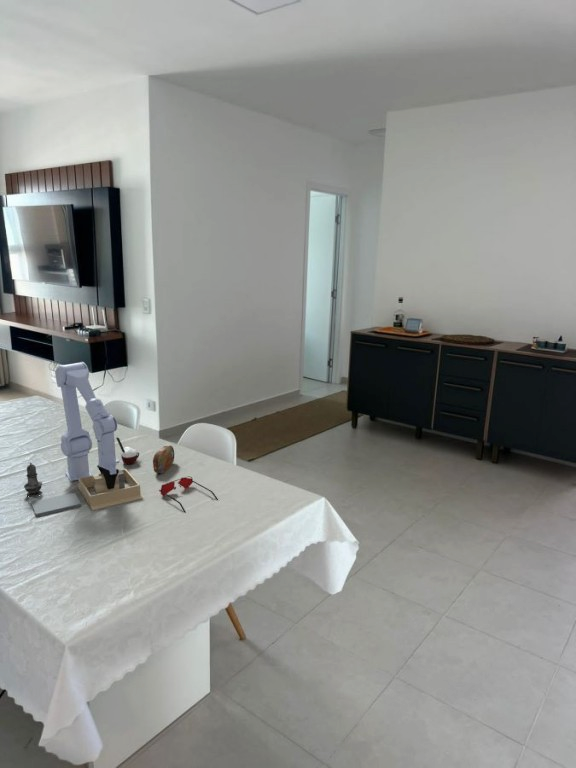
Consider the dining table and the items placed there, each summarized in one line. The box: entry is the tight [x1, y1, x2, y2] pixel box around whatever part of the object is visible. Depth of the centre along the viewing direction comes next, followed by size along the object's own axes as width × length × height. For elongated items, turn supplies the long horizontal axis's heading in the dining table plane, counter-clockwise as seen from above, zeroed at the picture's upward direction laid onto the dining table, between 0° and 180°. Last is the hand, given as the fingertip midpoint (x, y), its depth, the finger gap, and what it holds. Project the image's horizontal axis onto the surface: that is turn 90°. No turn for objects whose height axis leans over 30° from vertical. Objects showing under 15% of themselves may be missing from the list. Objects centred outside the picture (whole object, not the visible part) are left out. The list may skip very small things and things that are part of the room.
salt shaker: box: [23, 462, 43, 498], centre depth 185 cm, size 6×6×12 cm
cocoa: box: [116, 437, 140, 466], centre depth 214 cm, size 10×6×12 cm, turn 117°
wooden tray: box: [77, 468, 144, 511], centre depth 189 cm, size 22×17×4 cm
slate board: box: [30, 492, 82, 517], centre depth 179 cm, size 10×14×1 cm
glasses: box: [158, 475, 219, 514], centre depth 185 cm, size 14×16×5 cm
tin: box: [152, 445, 175, 474], centre depth 209 cm, size 15×3×8 cm, turn 168°
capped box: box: [92, 469, 126, 495], centre depth 188 cm, size 4×10×6 cm, turn 123°
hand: (109, 486), depth 189 cm, fingers closed on capped box, 4 cm apart
